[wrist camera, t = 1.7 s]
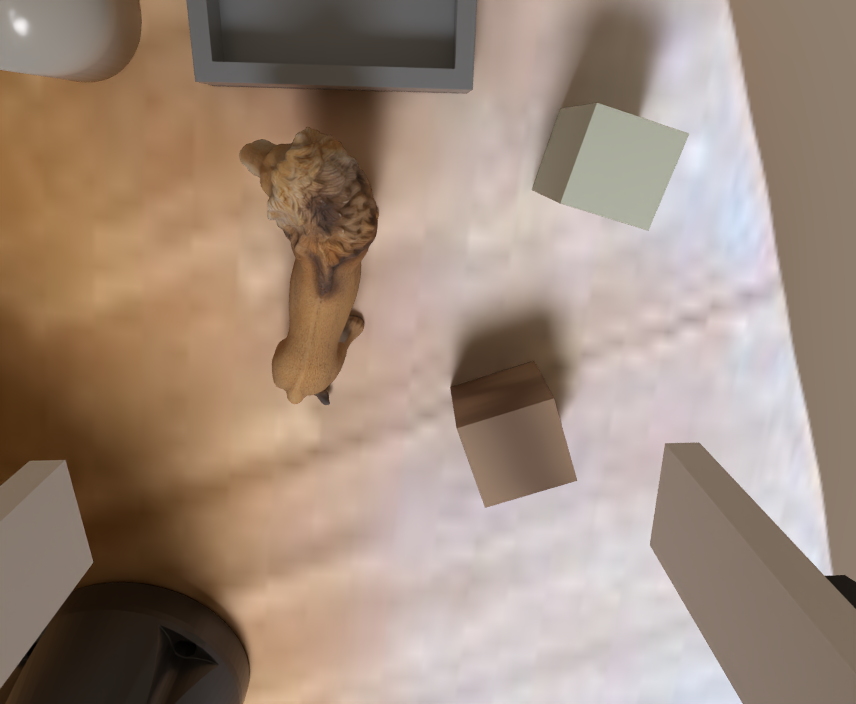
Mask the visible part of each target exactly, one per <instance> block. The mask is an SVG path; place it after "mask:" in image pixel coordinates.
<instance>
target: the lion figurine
mask: <svg viewBox="0 0 856 704" xmlns="http://www.w3.org/2000/svg"><path fill="white" fill-rule="evenodd" d="M239 157H240V160H241V162H242V164H243V165H245V166H246V167H247V169H248V170H249V171H250V172H251V173H252V174H253V175H255V176H258V177H260V183H261V187H262V189H263V190H264V192H265V193H266V194H267V195H268V196H269V200H268V219H270V220H274V219H275V220H276V222H277V225H278V227H280V228H281V229H282V230H283V231H284V233H285V235H286V237H287V238H288V239H289V240H290V242H291V246H292V250H293V253H294V255H295V257H296V259H295V263H294V267H293V271H292V275H291V281H290V294H289V311H290V328H289V333H288V336H287V338H286V339H284V340H282V341H281V342H280V343H279V344H278V346H277V348H276V351H275V354H274V356H273V360H272V374H273V380H274V383H275V385H276V386H277V387H279V388H281V389H284V390H285V391H286V393H287V398H288V400H289V401H290V402H291V403H293V404H298V403H300V402H301V401H302V400H303V398H304V397H306V396H307V395H315V396H317V397H318V399H319V400H320V401H321V402H322V403H323V404H324V405H329V404H330V402H329V394H328V392H327V391H326V390H325V389H326V388H327V387H328V386H329V385H330V384H331V383H332V382H333V381H334V380H335V378H336V377H337V375H338V374H339V372H340V370H341V368H342V365H343V363H344V360H345V357H346V353H347V349H348V347H349V345H350V344H351V342H352V341H353V340H354V339H355V338H356V337H357V336H358V335H360V333H361V332H362V331H363V329H364V323H363V321H362V319H361V318H359V317H355V316H349V314H350V312H351V309H352V306H353V304H354V301H355V299H356V295H357V292H358V288H359V283H360V276H361V260H362V259H363V258H364V256H365V255H366V253H367V251H368V248H369V246H370V244H371V243H372V242H373V241H374V239H375V237H376V233H377V225H378V220H377V219H378V216H379V214H378V212H377V206H376V202H375V200H374V198H373V196H372V189H371V188H370V187H371V186H370V184H369V182H368V180H367V179H366V175H365V173H364V172H363V170H361V169H359V167H358V163H357V161H356V160H355V159H354V158H353V157H351V156H349V155H348V154H347V152H346V151H345V150H344V149H343V147H342V144H341V142H339V141H337V140H336V139H335V138H334V137H333V136H332V135H327V136H326V135H324V134H321V133H320V132H319V131H318V130H314V129H311V128H309V127H306V128H305V130H303V131H302V132H299V133H298V134H296V136H295V138H294V140H293V143H291V144H279V145H275V144H273V143H271V142H269V141H267V140H263V139H261V140H257V141H254V142H253V143H249V144H246V145H245V146H244V147H243V148H242V150H241V151H240V154H239Z"/></svg>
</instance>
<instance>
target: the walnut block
mask: <svg viewBox="0 0 856 704" xmlns="http://www.w3.org/2000/svg"><path fill="white" fill-rule="evenodd" d="M450 388H451V395H452V401H453V408H454V414H455V420H456V427H457V431H458V433H459V436H460V439H461V442H462V444H463V447H464V450H465V453H466V456H467V458H468V461H469V464H470V467H471V470H472V472H473V475H474V478H475V481H476V484H477V486H478V489H479V492H480V495H481V498H482V500H483V503H484V506H485V508H486V507H489V506H493V505H496V504H499V503H503V502H506V501H510V500H513V499H516V498H520V497H523V496H527V495H530V494H533V493H537V492H540V491H544V490H547V489H550V488H554V487H557V486H561V485H564V484H567V483H571V482H574V481H577V478H576V475H575V471H574V467H573V464H572V460H571V457H570V453H569V450H568V446H567V443H566V439H565V436H564V432H563V428H562V425H561V421H560V418H559V414H558V411H557V407H556V404H555V400H554V397H553V396H552V394H551V392H550V390H549V388H548V386H547V384H546V383H545V381H544V379H543V377H542V375H541V373H540V371H539V370H538V368H537V366H536V364H535V362H534V361H532V362H529V363H526V364H523V365H519V366H516V367H513V368H510V369H507V370H504V371H500V372H497V373H494V374H491V375H488V376H485V377H482V378H478V379H475V380H472V381H469V382H466V383H463V384H459V385H456V386H453V387H450Z"/></svg>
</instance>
